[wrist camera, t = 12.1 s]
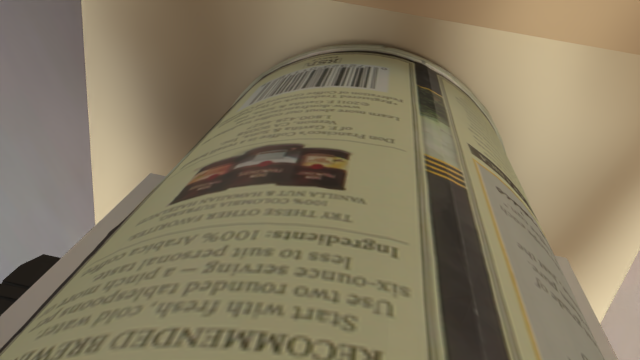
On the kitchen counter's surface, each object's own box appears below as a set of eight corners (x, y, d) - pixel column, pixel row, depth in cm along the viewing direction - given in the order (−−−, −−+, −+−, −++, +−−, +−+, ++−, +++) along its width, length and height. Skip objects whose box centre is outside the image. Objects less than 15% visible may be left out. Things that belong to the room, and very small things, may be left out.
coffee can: (323, 344, 21) (203, 963, 8) (156, 149, 18) (-409, 646, 5) (568, 237, 17) (1017, 1066, 5) (407, -32, 14) (440, 232, 2)
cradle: (111, 323, 24) (63, 387, 20) (84, -189, 15) (-9, -226, 11) (537, 418, 23) (560, 503, 19) (791, -77, 14) (920, -81, 10)
